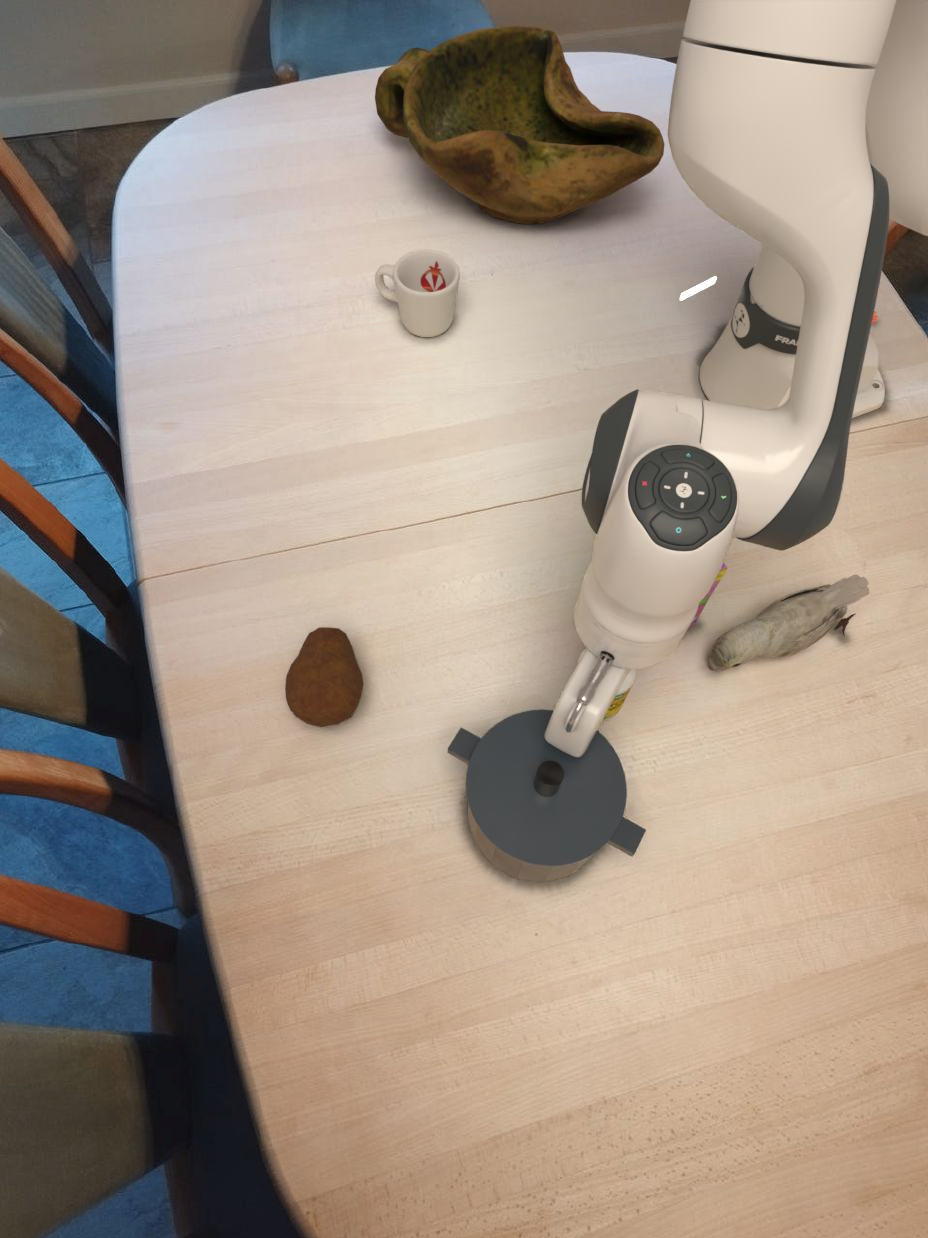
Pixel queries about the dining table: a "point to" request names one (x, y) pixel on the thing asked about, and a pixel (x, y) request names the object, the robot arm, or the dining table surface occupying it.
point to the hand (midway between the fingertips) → (602, 681)
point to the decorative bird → (789, 624)
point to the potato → (324, 679)
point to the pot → (622, 839)
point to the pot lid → (544, 793)
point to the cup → (422, 290)
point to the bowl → (513, 124)
